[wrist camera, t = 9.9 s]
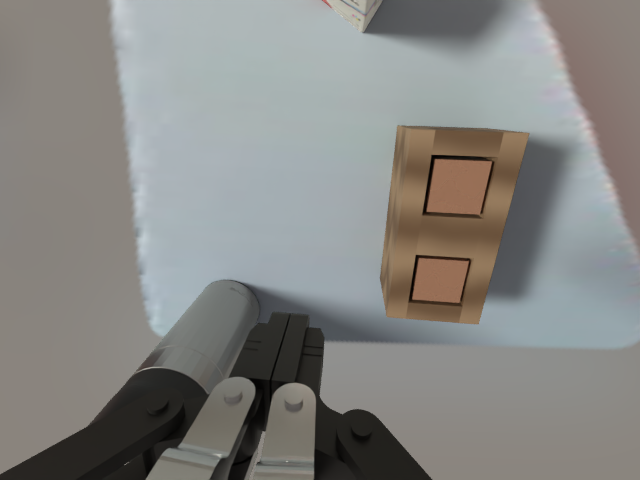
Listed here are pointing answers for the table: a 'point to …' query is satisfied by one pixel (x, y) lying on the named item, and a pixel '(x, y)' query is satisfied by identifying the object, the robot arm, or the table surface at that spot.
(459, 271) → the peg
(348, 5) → the ink cartridge box
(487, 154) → the walnut block
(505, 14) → the table surface
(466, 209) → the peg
